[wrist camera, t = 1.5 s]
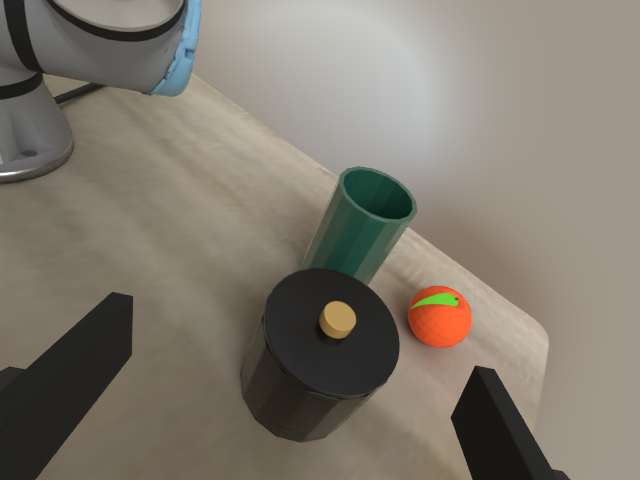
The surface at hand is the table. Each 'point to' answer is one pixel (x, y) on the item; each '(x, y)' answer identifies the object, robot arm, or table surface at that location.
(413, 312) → the clementine
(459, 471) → the table surface
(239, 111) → the table surface
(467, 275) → the table surface
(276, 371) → the black lidded canister
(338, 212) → the tin
